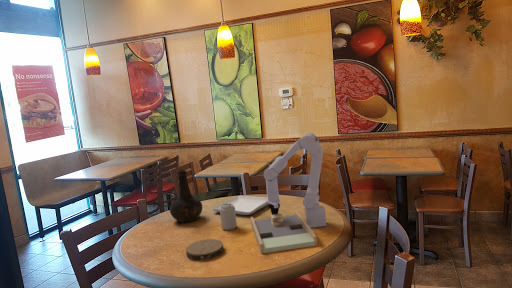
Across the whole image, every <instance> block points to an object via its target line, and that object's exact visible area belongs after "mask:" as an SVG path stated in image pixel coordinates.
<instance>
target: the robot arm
mask: <svg viewBox="0 0 512 288" xmlns="http://www.w3.org/2000/svg"><path fill="white" fill-rule="evenodd" d="M300 150H305V151H307V152H308V153H309V154H310V155H311V162H310V169H309V177H308V183H307V188H306V189H307V190H306V193H305V196H304V198H303V199H302V203H303V204H302V205H303V206H304V207H303V208H304V217H305V219H304V220H305V222H306V223H307V224H308V226H309V227H310V228H311V229H312V228H318V227H319V228H320V227H325V226H328V225H327V216H326V209H325V206H324V205H321V204H319V201H320V199H321V198H320V194H319V192H320V190H319V185H320V179H321V172H322V165H323V157H324V149H323V148H322V145H321V143H320V140H319V137H318V136H316V135H315V134H314V133H313V132H308V133H305V135H302V136H301V137H300V138H299V139H298V140H296V141H295V142H293V144H292V145H291V146H290V147H289V148H288V149H287V151H286V152H285V153H284V154H283V155H279V156H276V157H275V158H274V161H273V162H272V163H270V164H268V168H266V169H264V172H263V179H265V184H266V185H265V187H266V189H265V190H266V197H267V198H268V200H267V201H265V202H266V203H269V204H267V206H268V208H269V209H270V213H271V215H273V214H279V210H280V207H281V204H280V196H279V195H280V193H279V185H278V184H279V183H278V176H279V174H280V173H281V172H282V171H283V170H284V169H285V168H286V167H287V165H288V160H290V159H291V158H292V157H293V156H294V155H295V154H296V153H297V152H298V151H300Z"/></svg>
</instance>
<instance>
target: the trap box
mask: <svg viewBox="0 0 512 288" xmlns="http://www.w3.org/2000/svg"><path fill="white" fill-rule="evenodd" d="M249 219H250V225H251V228H252V231H253V233H254V238H255V241H256V244H257V246H258V249H259V252H260V254H267V253H268V254H269V253H275V252H282V251H287V250H294V249H303V248H308V247H315V246H318V236H317V235H316V233H315V232H314V231H313V229H312V228H310V227H309V226H308V224H307V223H306V220H305V219H304V218H303V217H302V215H301V214H300V213H299V212H298V210H294V214H292V215H286V216H283V225H278V226H273V225H272V223H271V217H270V218H265V219H257V220H255V219H254V217H253V216H250V218H249Z"/></svg>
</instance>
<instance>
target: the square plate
mask: <svg viewBox="0 0 512 288" xmlns="http://www.w3.org/2000/svg"><path fill="white" fill-rule="evenodd" d="M267 200H268V198H267V196H265V197H264V196H254V195H253V196H250V195H248V196H247V195H237V196H234V197H232V198H229V199H226V200H225V201H223V202H222V203H219V204H217V205H215V206H213V207H211V210H212V211H214V212H216V213H220V208H221V205H223V204H233V206H234V207H235V214H236V215H240V216H241V215H242V216H249V215H252V214H254V213H256V212H257V211H259V210H260V209H262V208H265V207H266V206H268V204H270V203H266V202H265V201H267Z"/></svg>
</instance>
